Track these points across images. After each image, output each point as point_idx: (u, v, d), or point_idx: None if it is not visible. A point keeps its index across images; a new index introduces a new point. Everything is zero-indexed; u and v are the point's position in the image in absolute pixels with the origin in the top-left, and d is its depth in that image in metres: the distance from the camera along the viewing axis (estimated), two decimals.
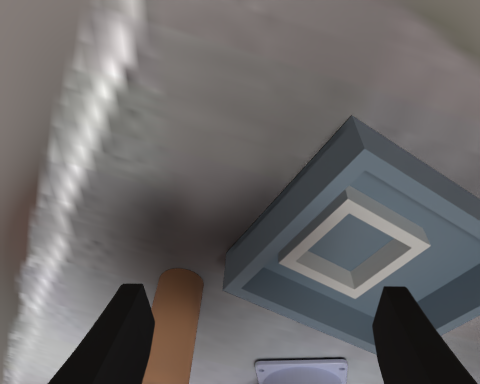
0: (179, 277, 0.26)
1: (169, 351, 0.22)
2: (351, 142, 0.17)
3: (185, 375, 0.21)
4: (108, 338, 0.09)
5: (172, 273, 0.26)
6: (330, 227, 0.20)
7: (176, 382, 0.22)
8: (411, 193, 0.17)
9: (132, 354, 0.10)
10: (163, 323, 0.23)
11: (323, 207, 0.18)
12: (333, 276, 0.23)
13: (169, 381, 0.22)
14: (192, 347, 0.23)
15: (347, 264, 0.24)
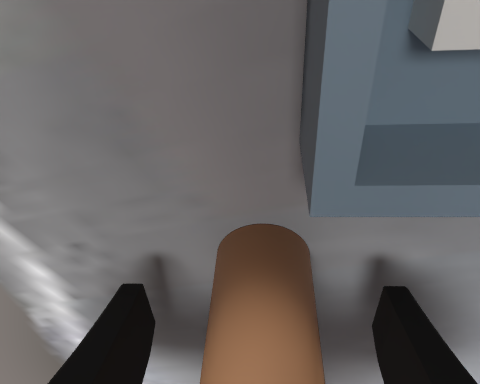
0: (239, 245, 0.12)
1: None
2: None
3: None
4: (108, 338, 0.09)
5: (226, 244, 0.12)
6: None
7: None
8: None
9: (132, 354, 0.10)
10: (218, 355, 0.09)
11: None
12: None
13: None
14: None
15: None
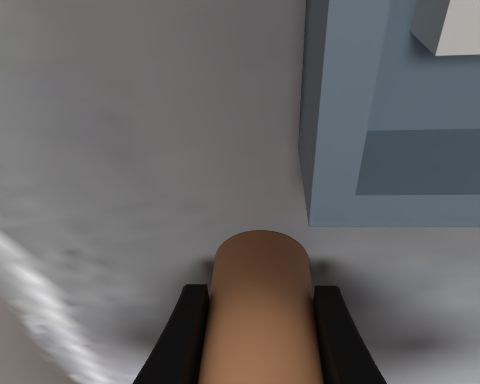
0: (237, 252, 0.11)
1: None
2: None
3: None
4: (184, 340, 0.09)
5: (223, 251, 0.12)
6: None
7: None
8: None
9: (200, 356, 0.10)
10: (215, 368, 0.09)
11: None
12: None
13: None
14: None
15: None
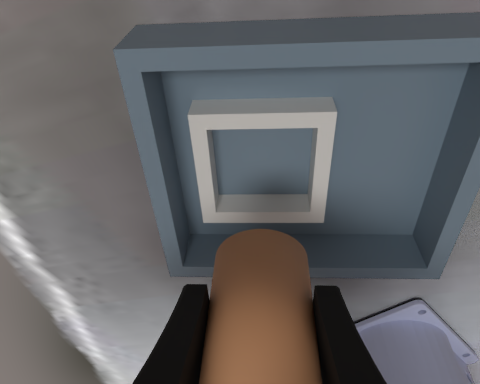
0: (241, 249, 0.12)
1: None
2: None
3: None
4: (184, 340, 0.09)
5: (226, 247, 0.12)
6: (207, 156, 0.17)
7: None
8: (215, 64, 0.13)
9: (200, 356, 0.10)
10: (220, 362, 0.09)
11: (152, 139, 0.15)
12: (276, 208, 0.19)
13: None
14: None
15: (295, 188, 0.19)
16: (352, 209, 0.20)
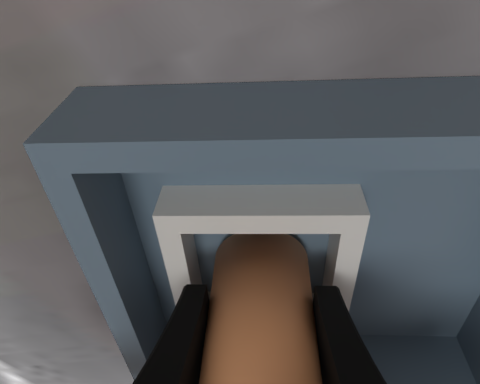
0: (241, 248, 0.12)
1: None
2: None
3: None
4: (184, 340, 0.09)
5: (226, 246, 0.12)
6: (183, 263, 0.12)
7: None
8: (185, 165, 0.08)
9: (200, 356, 0.10)
10: (221, 361, 0.09)
11: (100, 255, 0.10)
12: None
13: None
14: None
15: None
16: (379, 309, 0.15)
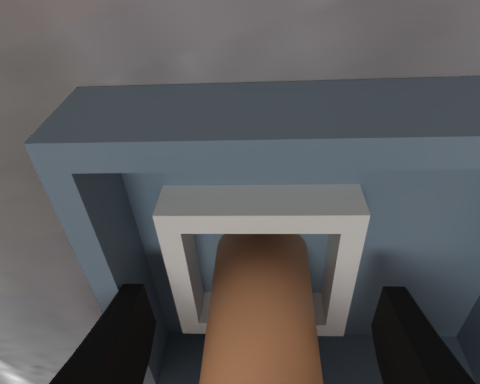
0: (242, 239, 0.12)
1: None
2: None
3: None
4: (109, 338, 0.09)
5: (228, 238, 0.12)
6: (183, 263, 0.12)
7: None
8: (186, 165, 0.08)
9: (133, 354, 0.10)
10: (223, 346, 0.09)
11: (100, 255, 0.10)
12: None
13: None
14: None
15: None
16: None
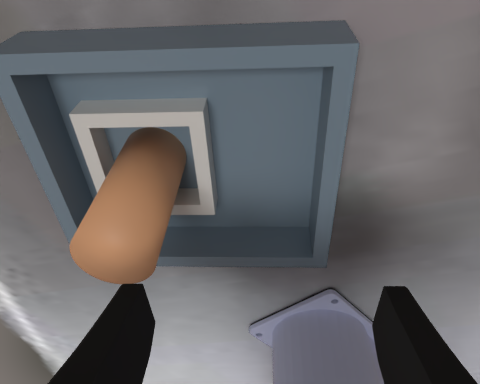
0: (134, 137, 0.18)
1: (103, 207, 0.14)
2: None
3: (134, 231, 0.13)
4: (108, 338, 0.09)
5: (127, 139, 0.19)
6: (95, 152, 0.18)
7: (132, 250, 0.14)
8: (74, 68, 0.14)
9: (132, 354, 0.10)
10: (104, 184, 0.15)
11: (34, 136, 0.16)
12: None
13: (123, 252, 0.14)
14: (154, 202, 0.15)
15: (191, 182, 0.21)
16: (248, 202, 0.21)
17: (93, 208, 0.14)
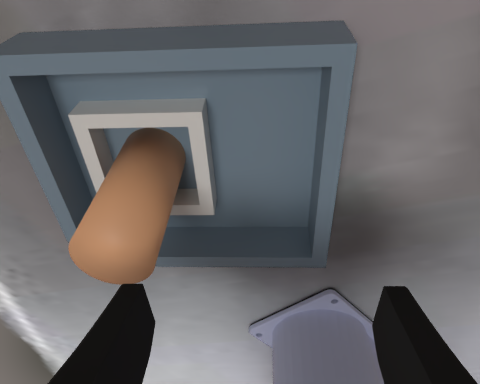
0: (133, 137, 0.18)
1: (102, 208, 0.14)
2: None
3: (132, 231, 0.13)
4: (108, 338, 0.09)
5: (127, 139, 0.19)
6: (94, 153, 0.18)
7: (131, 250, 0.14)
8: (73, 69, 0.14)
9: (132, 354, 0.10)
10: (103, 184, 0.15)
11: (33, 137, 0.16)
12: None
13: (122, 252, 0.14)
14: (152, 203, 0.15)
15: (190, 183, 0.21)
16: (247, 203, 0.21)
17: (92, 208, 0.14)
